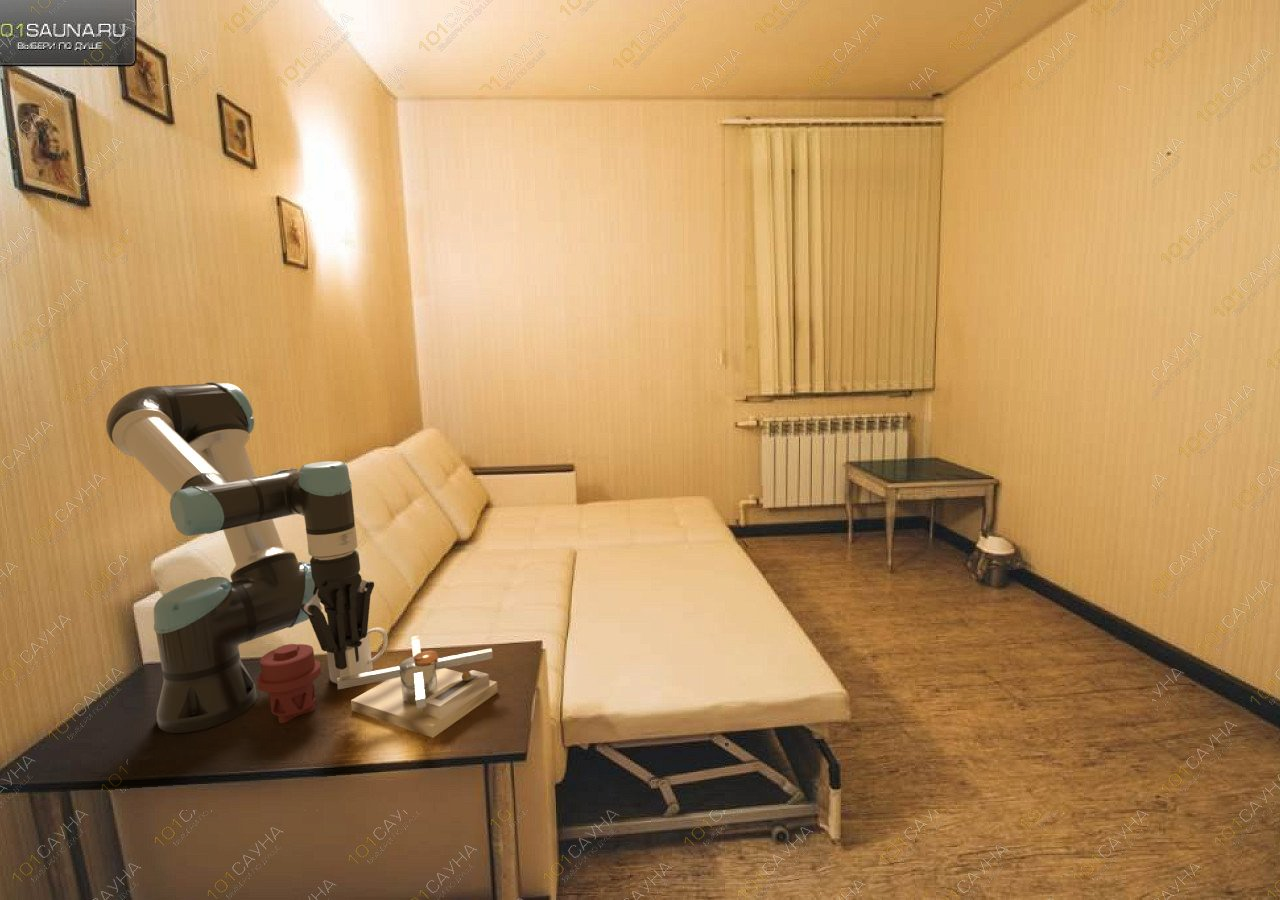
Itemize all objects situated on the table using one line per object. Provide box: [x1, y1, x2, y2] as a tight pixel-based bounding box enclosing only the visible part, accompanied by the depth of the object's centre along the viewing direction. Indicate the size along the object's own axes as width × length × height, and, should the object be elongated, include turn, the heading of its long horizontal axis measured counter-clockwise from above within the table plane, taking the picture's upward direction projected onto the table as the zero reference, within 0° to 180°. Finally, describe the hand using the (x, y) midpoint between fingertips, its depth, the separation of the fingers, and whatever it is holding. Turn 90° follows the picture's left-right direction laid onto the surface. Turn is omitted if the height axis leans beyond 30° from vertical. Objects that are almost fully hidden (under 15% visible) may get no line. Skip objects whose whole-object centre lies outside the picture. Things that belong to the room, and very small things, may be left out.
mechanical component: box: [256, 643, 322, 724], centre depth 115 cm, size 12×10×10 cm
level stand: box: [350, 668, 498, 738], centre depth 118 cm, size 20×16×6 cm
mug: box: [326, 626, 389, 684], centre depth 129 cm, size 12×8×10 cm, turn 84°
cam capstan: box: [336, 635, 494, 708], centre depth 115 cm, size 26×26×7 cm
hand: (349, 682), depth 113 cm, fingers closed
